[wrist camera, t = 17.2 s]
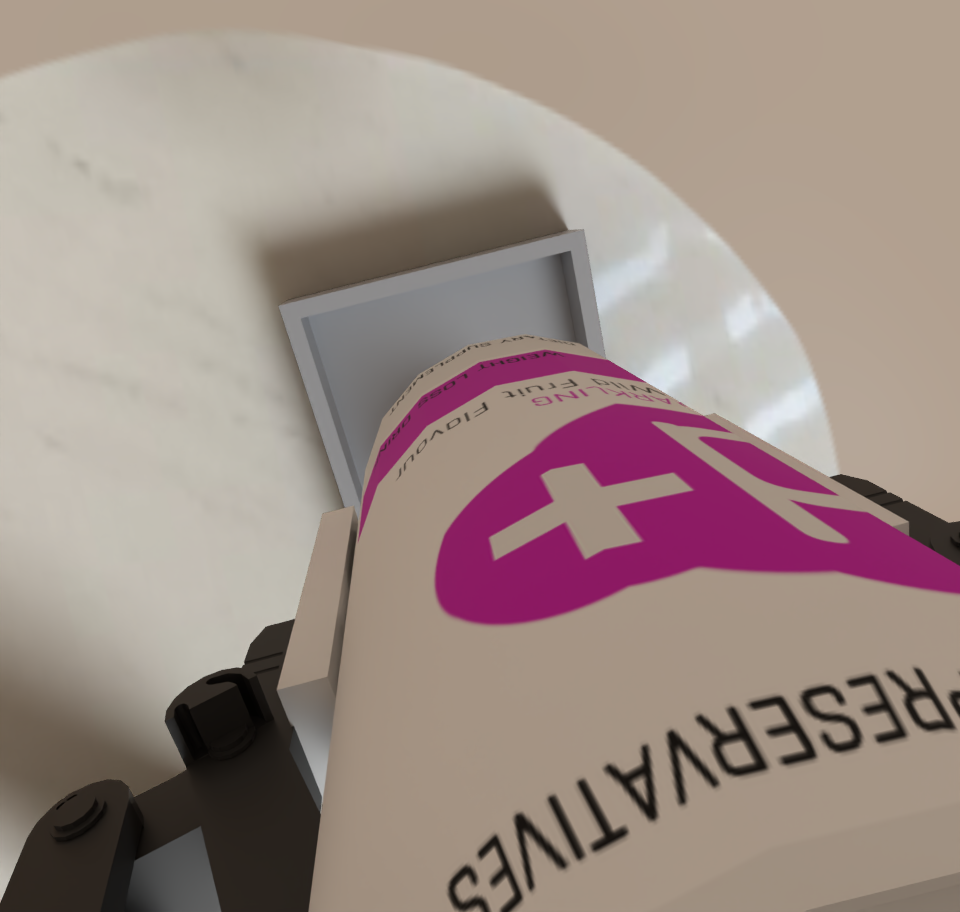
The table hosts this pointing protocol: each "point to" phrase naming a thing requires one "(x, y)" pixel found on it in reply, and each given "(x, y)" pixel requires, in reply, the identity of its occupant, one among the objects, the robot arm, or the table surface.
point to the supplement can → (629, 665)
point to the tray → (428, 332)
